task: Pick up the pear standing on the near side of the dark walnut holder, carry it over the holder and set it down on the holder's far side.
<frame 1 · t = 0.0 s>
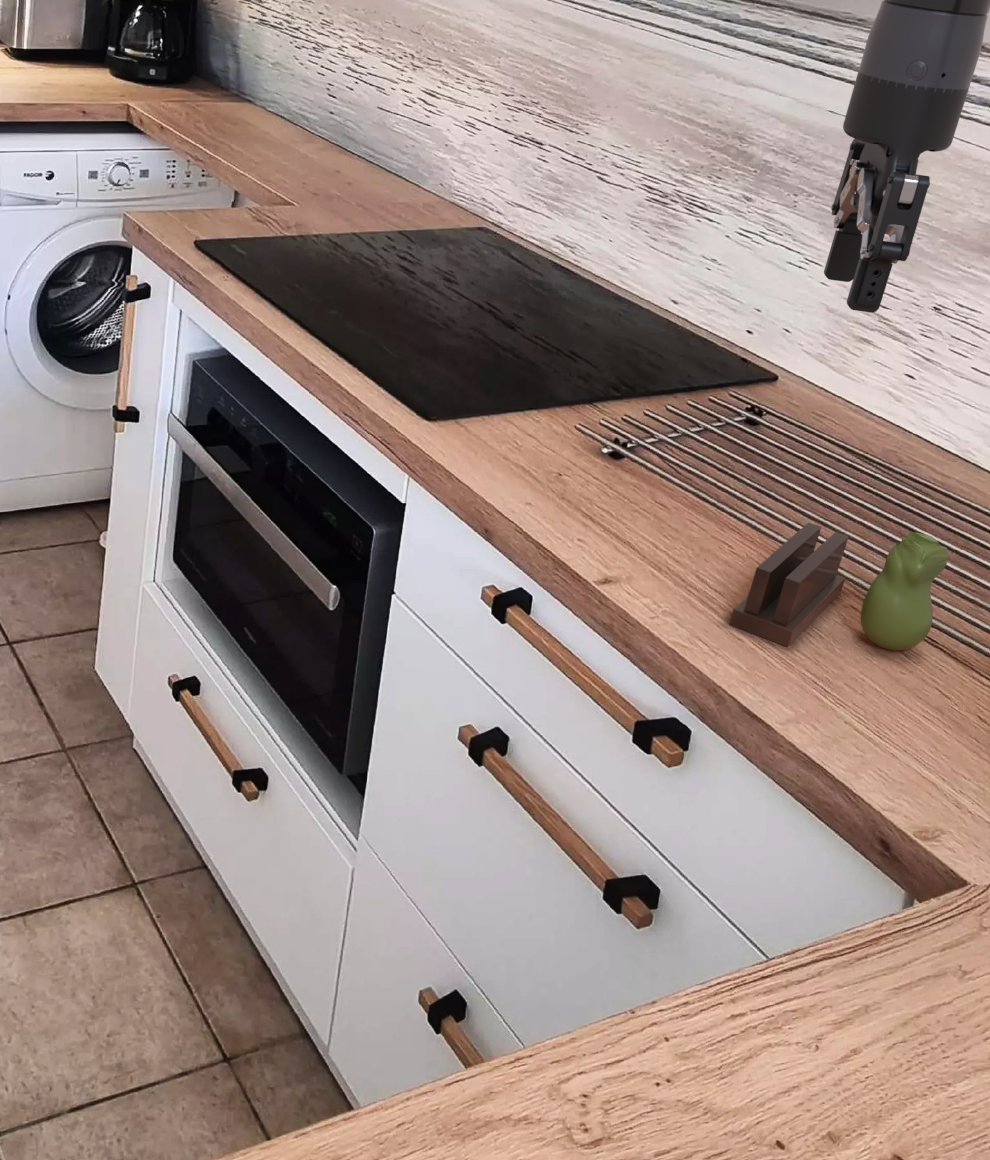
hand: (848, 294, 116), 28 cm above the table, tool pointing down, fingers open, 8 cm apart
holder: (786, 608, 130), on the table
pear: (886, 647, 126), on the table
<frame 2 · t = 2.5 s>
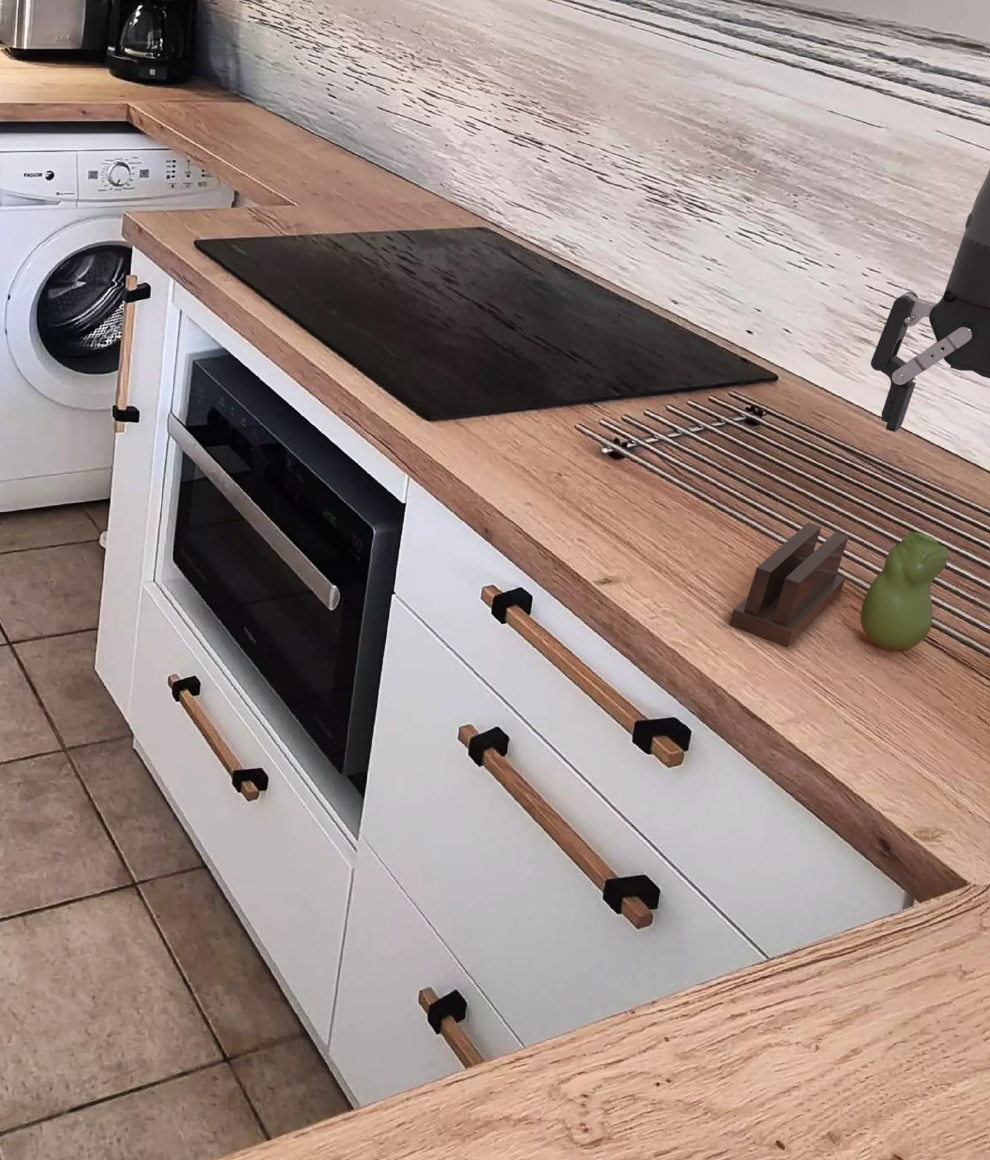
hand: (948, 445, 118), 18 cm above the table, tool pointing down, fingers open, 8 cm apart
nothing on the table moved.
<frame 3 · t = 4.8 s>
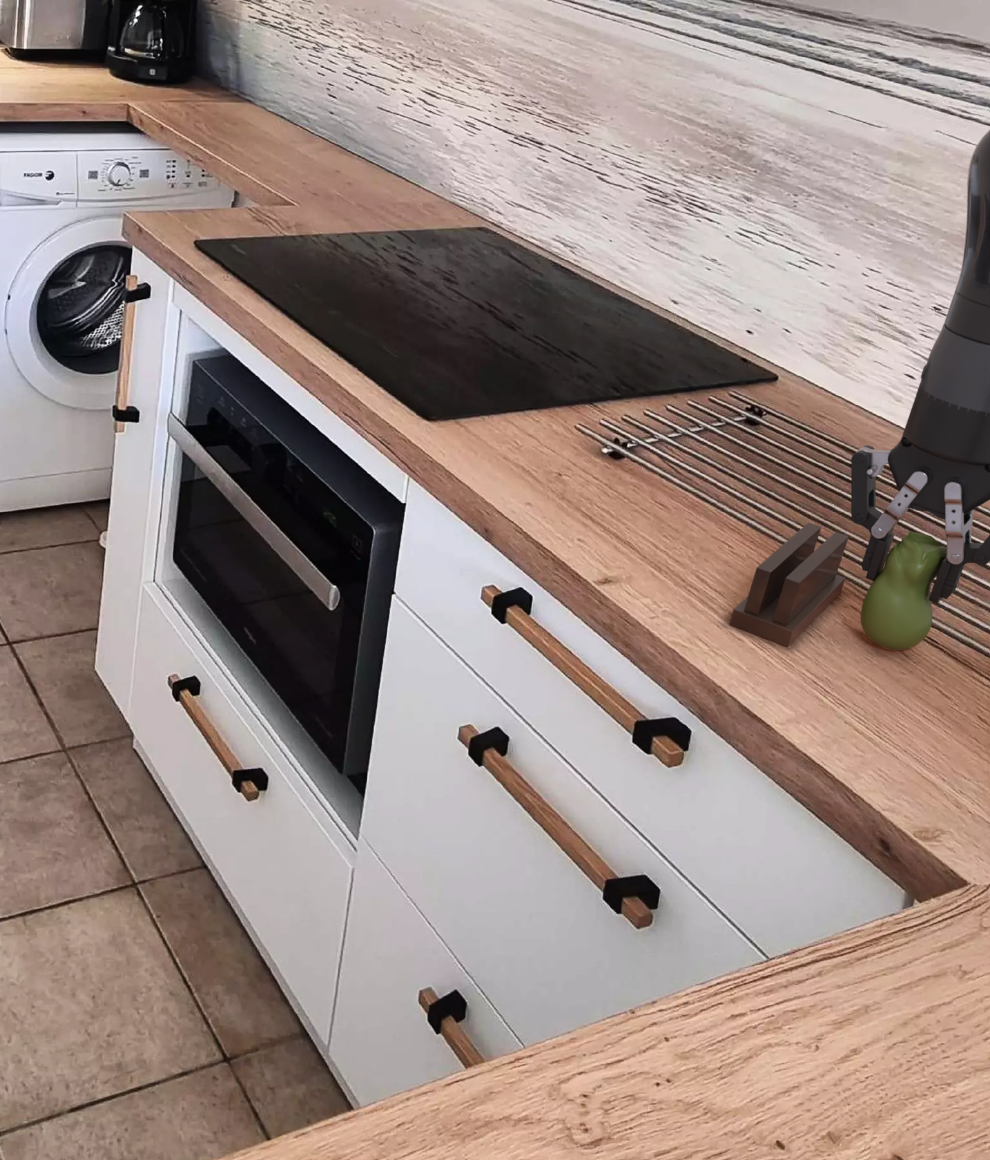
hand: (903, 587, 124), 5 cm above the table, tool pointing down, fingers closed on pear, 4 cm apart
pear: (886, 647, 126), on the table, touching gripper
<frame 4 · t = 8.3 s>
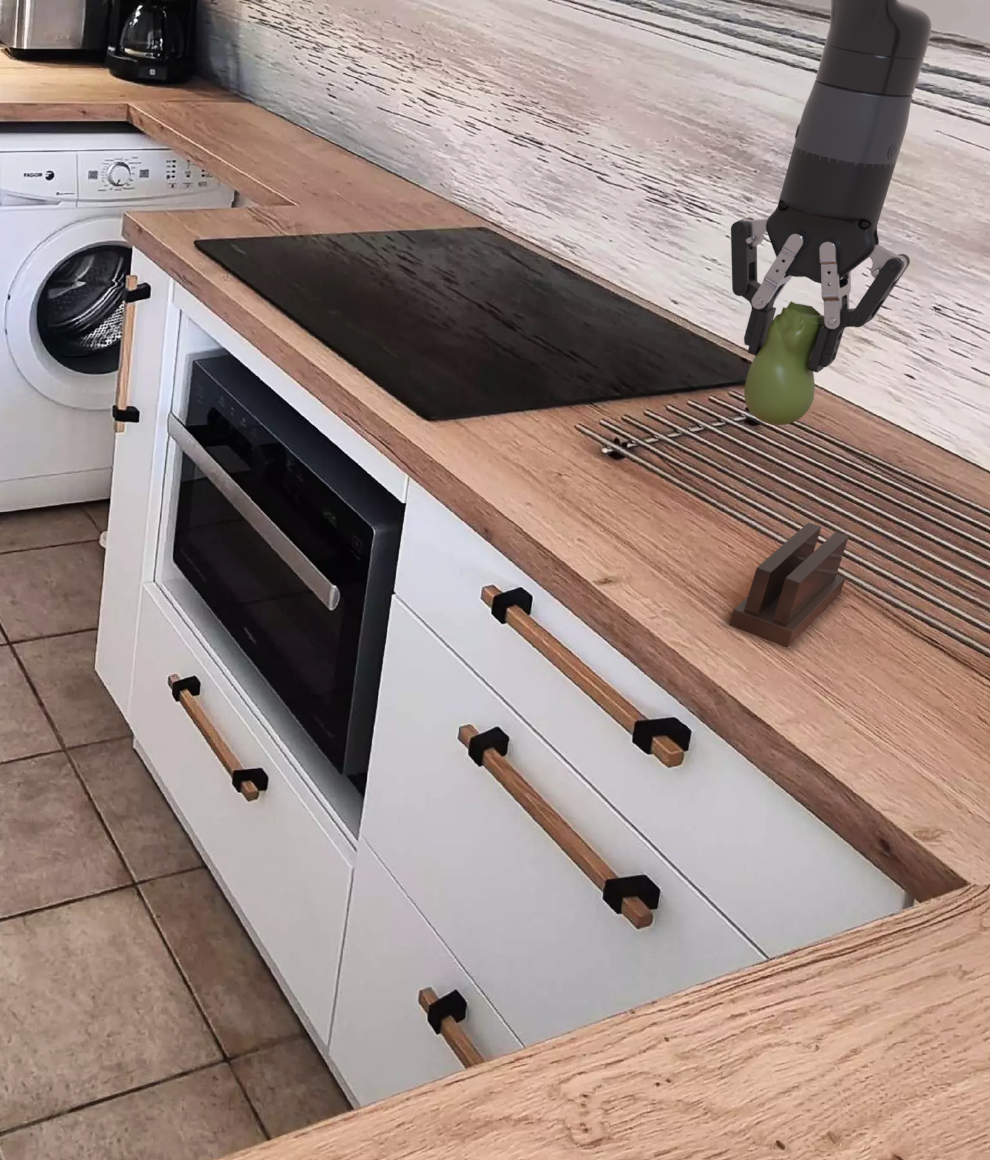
hand: (785, 360, 124), 21 cm above the table, tool pointing down, fingers closed on pear, 4 cm apart
pear: (770, 424, 126), point 15 cm above the table, touching gripper
when the fingers open (5 cm above the table, at t = 12.2 s): pear stays where it is, on the table.
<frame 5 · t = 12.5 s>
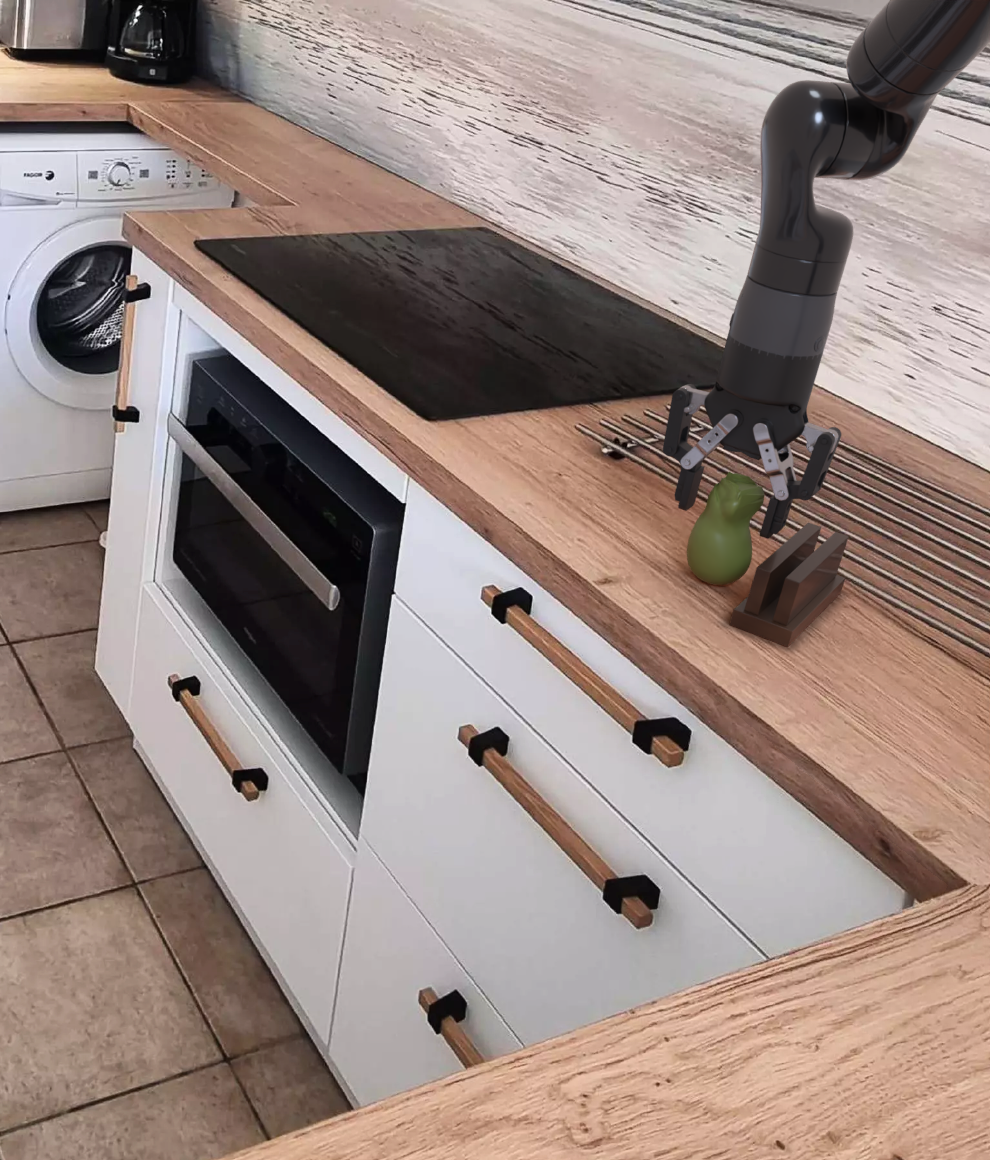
hand: (725, 520, 131), 6 cm above the table, tool pointing down, fingers open, 6 cm apart
pear: (711, 582, 134), on the table
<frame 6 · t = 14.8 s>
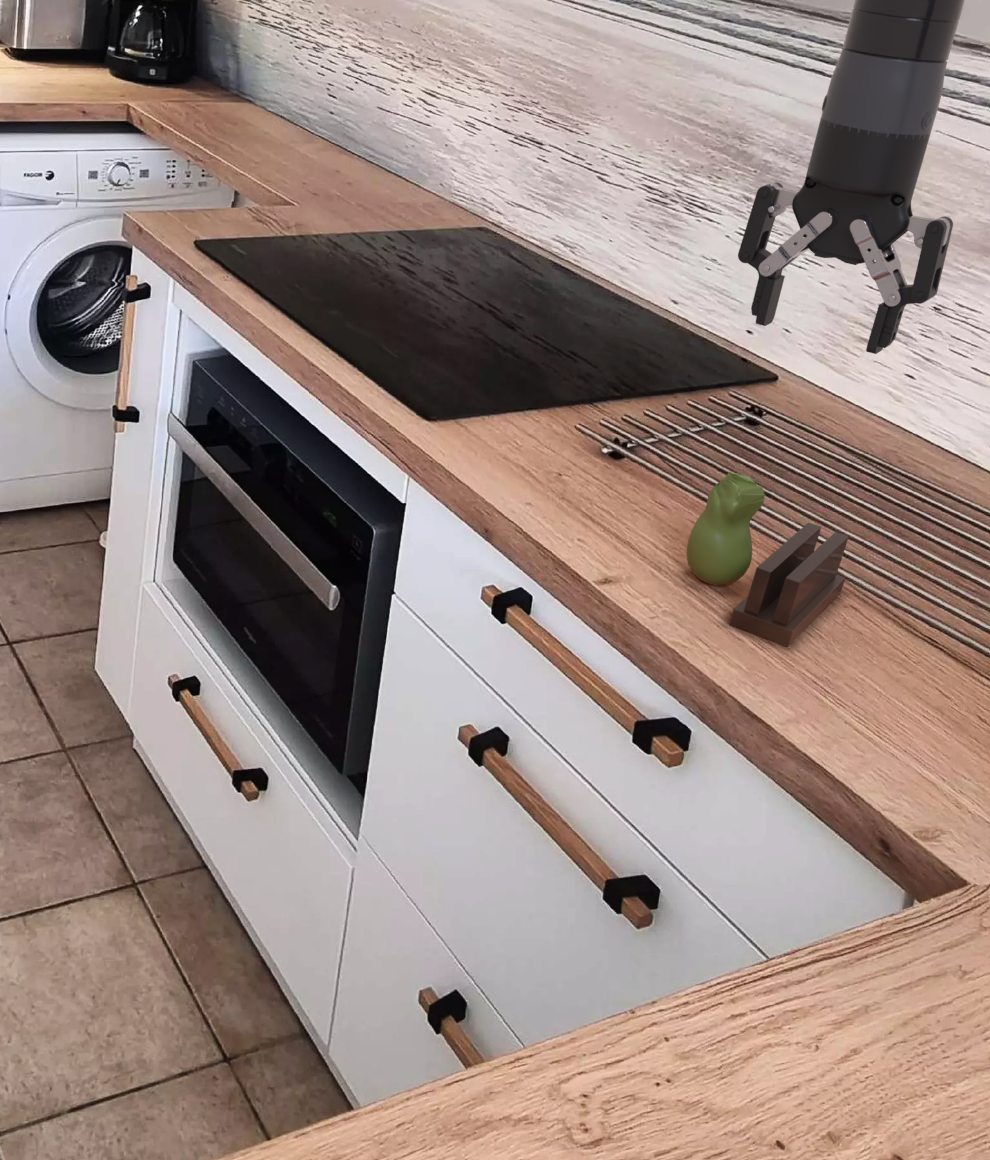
hand: (817, 337, 116), 25 cm above the table, tool pointing down, fingers open, 8 cm apart
nothing on the table moved.
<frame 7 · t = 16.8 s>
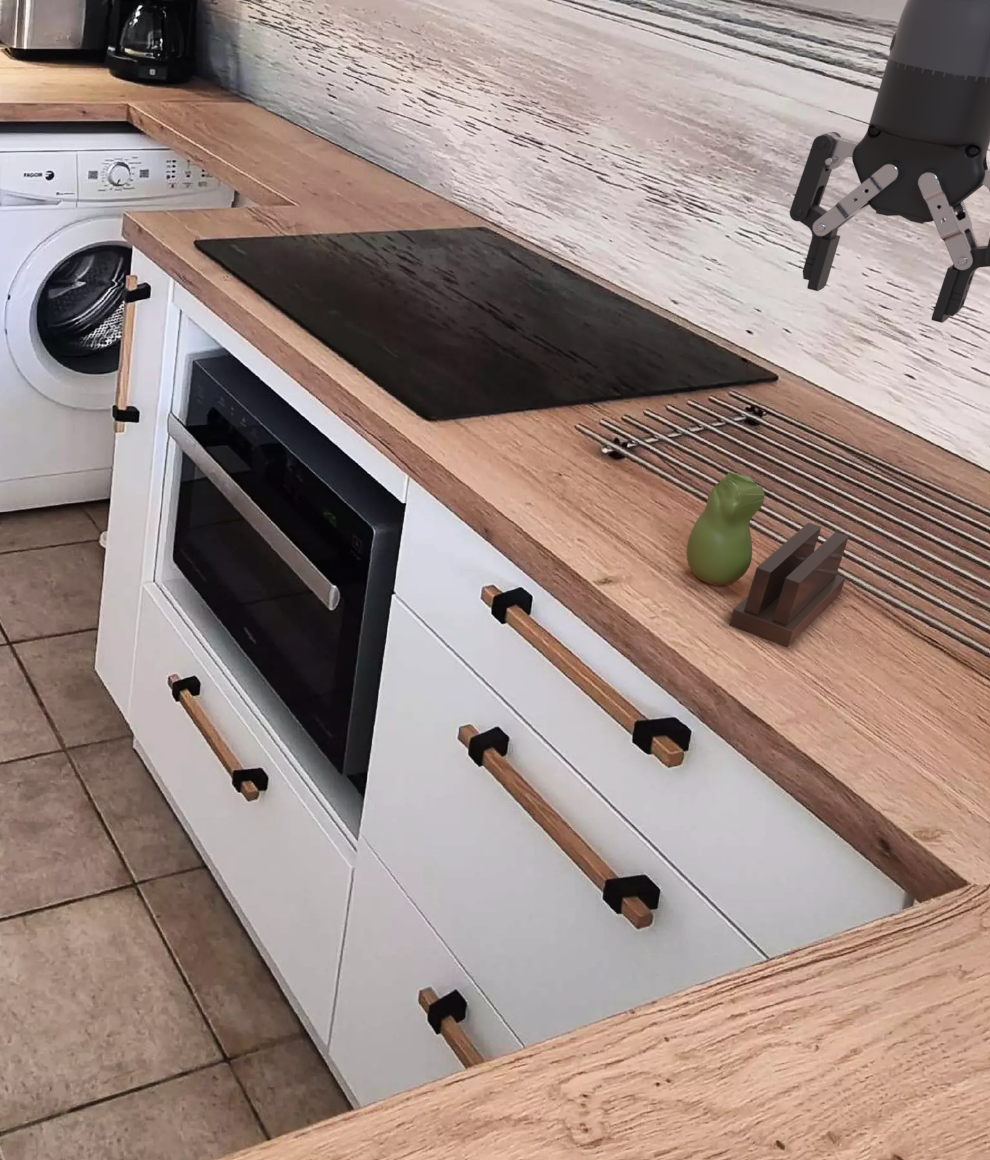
hand: (876, 303, 106), 30 cm above the table, tool pointing down, fingers open, 8 cm apart
nothing on the table moved.
at the end: pear inside the target area (1.0 cm from its centre), on the table; pear tilted 0°; the gripper is holding nothing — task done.
